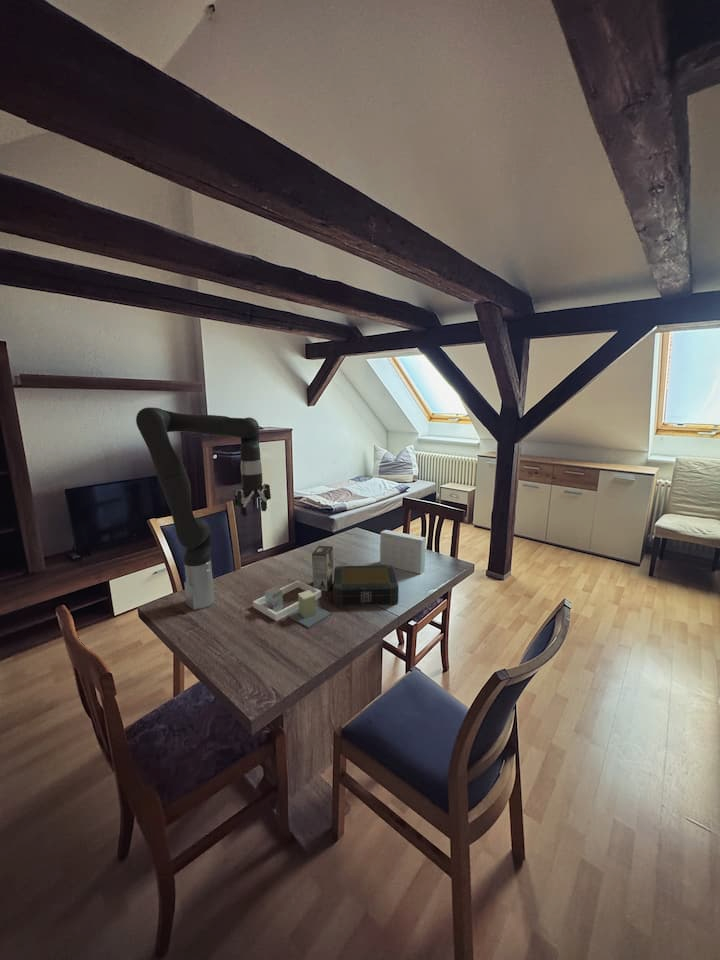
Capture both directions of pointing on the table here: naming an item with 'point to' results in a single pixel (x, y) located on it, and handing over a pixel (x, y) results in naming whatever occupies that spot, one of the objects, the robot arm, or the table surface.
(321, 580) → the coffee box
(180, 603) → the table surface
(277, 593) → the grey tin
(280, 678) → the table surface
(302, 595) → the olive tin
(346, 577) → the cash box
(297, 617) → the charcoal mat
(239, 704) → the table surface
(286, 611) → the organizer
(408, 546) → the skincare box
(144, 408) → the robot arm
